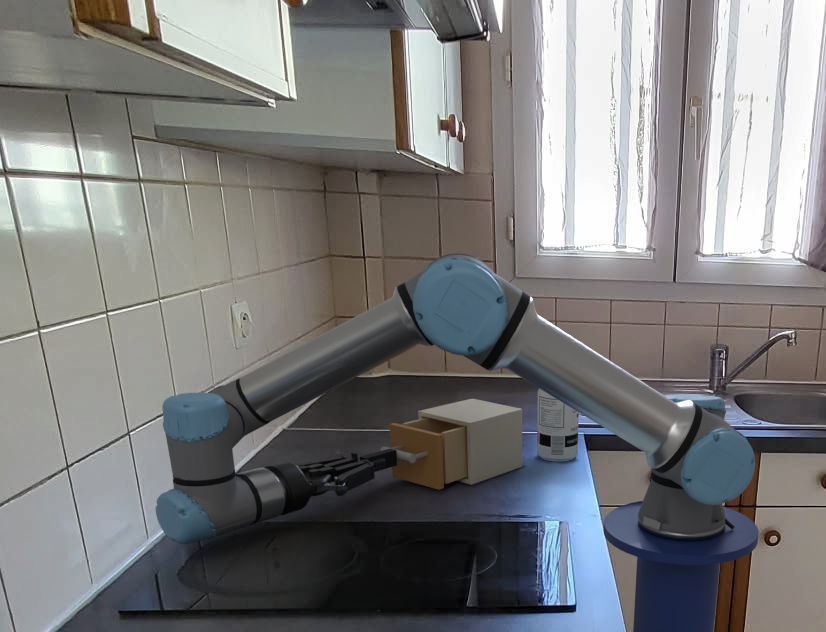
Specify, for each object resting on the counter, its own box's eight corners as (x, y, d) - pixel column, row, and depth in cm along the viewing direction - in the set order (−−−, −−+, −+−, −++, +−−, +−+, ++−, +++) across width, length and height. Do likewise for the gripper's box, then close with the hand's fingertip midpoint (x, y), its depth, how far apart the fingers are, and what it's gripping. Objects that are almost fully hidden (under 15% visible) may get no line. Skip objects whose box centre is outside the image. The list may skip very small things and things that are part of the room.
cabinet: (471, 485, 150) (469, 422, 146) (420, 471, 156) (417, 411, 152) (522, 466, 162) (522, 408, 158) (473, 454, 168) (472, 398, 164)
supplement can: (531, 453, 171) (531, 381, 166) (568, 449, 175) (569, 379, 170) (545, 464, 165) (546, 389, 159) (583, 460, 169) (585, 387, 163)
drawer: (420, 496, 141) (417, 440, 137) (373, 482, 146) (369, 428, 142) (490, 472, 155) (489, 421, 152) (445, 460, 160) (443, 410, 157)
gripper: (246, 506, 126) (368, 470, 145) (303, 525, 120) (422, 485, 139) (240, 458, 123) (365, 428, 142) (298, 476, 117) (420, 442, 137)
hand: (393, 456), depth 141 cm, fingers closed
